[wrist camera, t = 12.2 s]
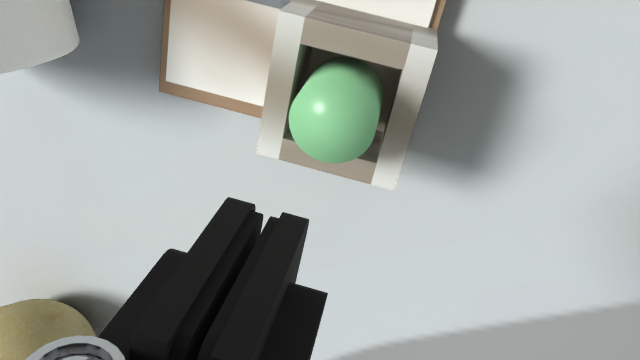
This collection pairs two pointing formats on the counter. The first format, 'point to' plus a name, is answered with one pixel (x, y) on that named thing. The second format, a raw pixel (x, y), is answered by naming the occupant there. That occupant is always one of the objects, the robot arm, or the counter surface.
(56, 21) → the mug
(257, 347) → the robot arm
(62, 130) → the counter surface
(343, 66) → the button
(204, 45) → the cream tray
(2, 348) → the potato
